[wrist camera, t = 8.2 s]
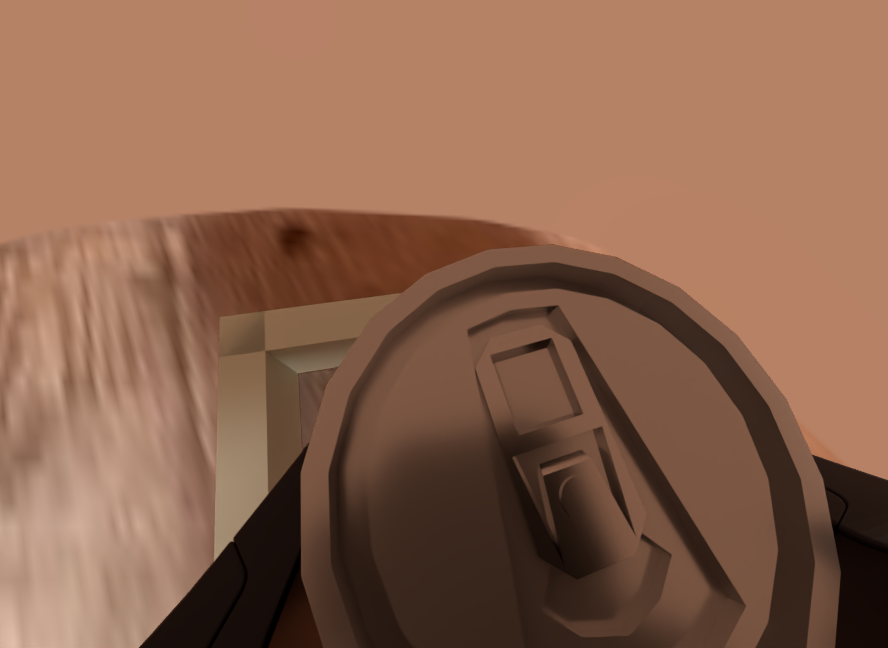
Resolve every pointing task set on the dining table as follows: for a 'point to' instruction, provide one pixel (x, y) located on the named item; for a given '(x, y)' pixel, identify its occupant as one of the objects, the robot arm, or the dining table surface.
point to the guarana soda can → (560, 472)
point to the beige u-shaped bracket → (271, 395)
